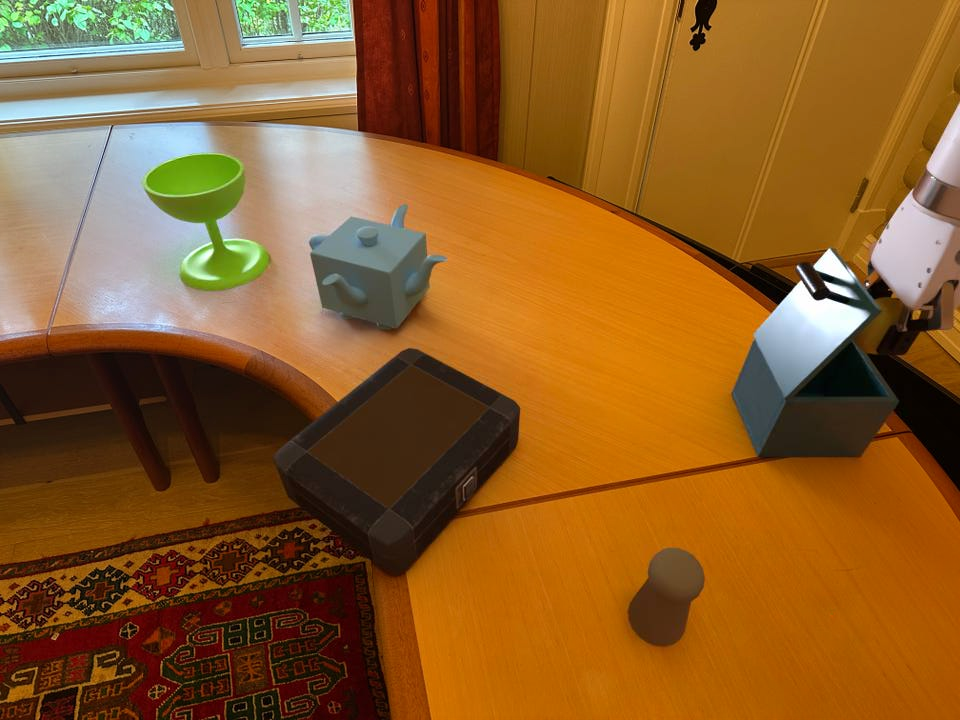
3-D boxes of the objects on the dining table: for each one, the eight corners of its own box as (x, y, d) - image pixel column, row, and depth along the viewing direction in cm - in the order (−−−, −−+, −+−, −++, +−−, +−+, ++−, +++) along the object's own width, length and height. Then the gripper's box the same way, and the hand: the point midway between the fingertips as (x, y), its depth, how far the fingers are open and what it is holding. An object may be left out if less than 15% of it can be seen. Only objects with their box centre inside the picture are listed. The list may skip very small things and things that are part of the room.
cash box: (401, 587, 67) (395, 551, 61) (280, 494, 75) (265, 456, 70) (526, 444, 81) (530, 405, 76) (413, 380, 90) (408, 341, 85)
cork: (616, 602, 65) (634, 550, 58) (663, 581, 67) (686, 528, 60) (649, 656, 61) (672, 607, 54) (697, 632, 63) (727, 582, 56)
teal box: (823, 393, 88) (855, 337, 81) (860, 457, 80) (899, 401, 72) (730, 393, 88) (754, 337, 81) (757, 457, 80) (786, 401, 72)
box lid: (835, 249, 71) (797, 235, 70) (883, 310, 63) (841, 296, 62) (757, 336, 81) (723, 325, 79) (790, 399, 72) (752, 389, 71)
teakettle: (314, 289, 107) (296, 214, 97) (415, 265, 112) (408, 192, 102) (339, 356, 94) (321, 278, 84) (451, 325, 99) (448, 249, 89)
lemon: (879, 374, 70) (913, 321, 64) (832, 350, 73) (861, 297, 67) (899, 353, 72) (933, 300, 67) (853, 331, 76) (882, 278, 70)
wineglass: (202, 239, 119) (170, 150, 106) (281, 243, 117) (258, 154, 105) (163, 287, 107) (121, 194, 95) (250, 293, 106) (220, 199, 93)
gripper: (1061, 241, 52) (950, 387, 65) (948, 154, 65) (873, 291, 77) (974, 241, 52) (879, 388, 65) (878, 154, 65) (814, 291, 77)
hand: (877, 334), depth 71 cm, fingers closed on lemon, 5 cm apart
